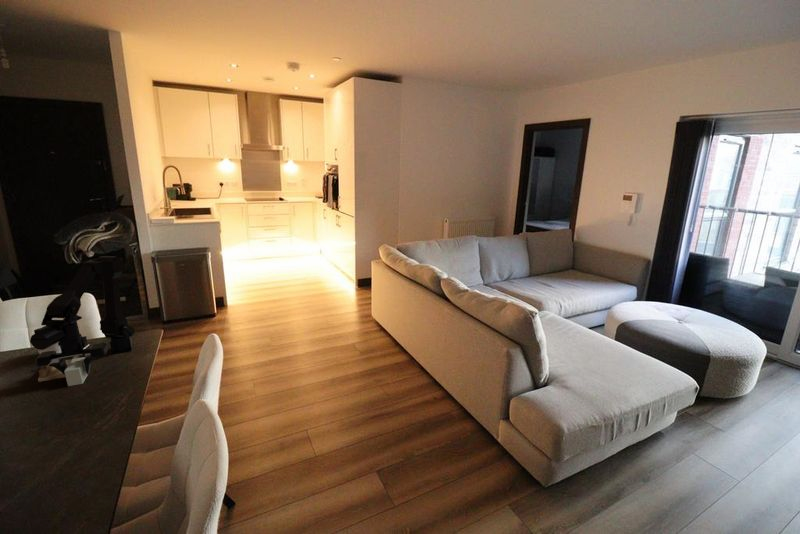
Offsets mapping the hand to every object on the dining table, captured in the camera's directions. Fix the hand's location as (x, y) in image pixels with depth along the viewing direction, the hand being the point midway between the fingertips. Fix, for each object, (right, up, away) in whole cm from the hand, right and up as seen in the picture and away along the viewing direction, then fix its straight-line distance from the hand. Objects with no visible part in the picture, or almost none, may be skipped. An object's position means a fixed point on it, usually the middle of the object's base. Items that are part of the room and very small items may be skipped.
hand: (78, 375), depth 133 cm
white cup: (-23, +3, +15) cm, 28 cm away
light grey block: (0, -1, 0) cm, 1 cm away
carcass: (-10, 0, +5) cm, 11 cm away
